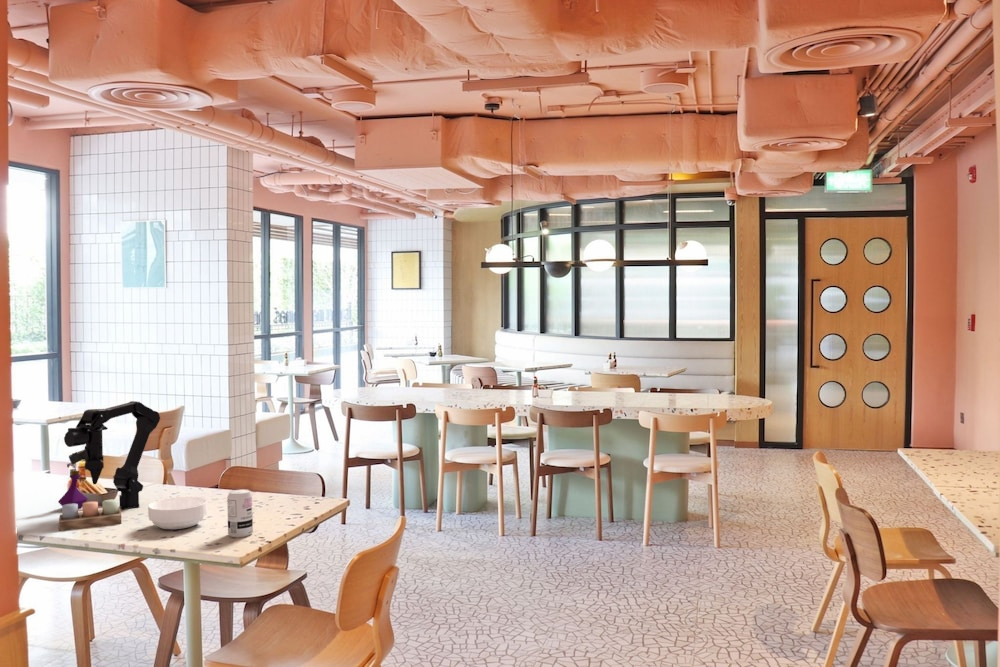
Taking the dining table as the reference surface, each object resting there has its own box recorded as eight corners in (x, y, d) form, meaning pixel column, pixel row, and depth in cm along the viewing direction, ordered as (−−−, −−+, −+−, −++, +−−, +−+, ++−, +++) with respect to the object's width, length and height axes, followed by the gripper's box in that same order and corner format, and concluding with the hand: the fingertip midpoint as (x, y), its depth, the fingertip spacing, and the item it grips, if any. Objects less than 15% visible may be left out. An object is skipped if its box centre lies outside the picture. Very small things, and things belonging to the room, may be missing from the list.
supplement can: (231, 531, 282) (230, 489, 281) (255, 531, 282) (254, 488, 282) (225, 538, 274) (224, 494, 273) (250, 537, 274) (249, 493, 274)
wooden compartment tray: (120, 516, 304) (120, 508, 304) (121, 523, 294) (121, 515, 293) (60, 522, 295) (59, 514, 295) (59, 530, 284) (58, 522, 284)
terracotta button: (98, 513, 298) (97, 500, 297) (98, 516, 293) (97, 503, 293) (82, 515, 295) (82, 502, 295) (82, 518, 291) (82, 505, 291)
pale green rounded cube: (117, 511, 301) (117, 498, 300) (117, 514, 296) (117, 501, 296) (102, 513, 298) (102, 500, 298) (102, 516, 294) (102, 503, 294)
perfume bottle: (88, 506, 319) (87, 461, 318) (72, 511, 312) (71, 465, 311) (73, 505, 321) (72, 460, 321) (57, 509, 314) (56, 464, 314)
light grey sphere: (78, 515, 295) (77, 502, 295) (78, 518, 290) (77, 505, 290) (62, 517, 292) (62, 504, 292) (62, 520, 288) (62, 507, 288)
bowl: (142, 525, 291) (142, 501, 291) (198, 516, 303) (198, 494, 303) (156, 537, 276) (155, 512, 275) (214, 527, 287) (213, 504, 287)
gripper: (70, 441, 309) (71, 481, 309) (69, 448, 292) (69, 491, 292) (103, 438, 314) (103, 478, 314) (103, 445, 297) (103, 488, 297)
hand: (94, 484), depth 304 cm, fingers closed
